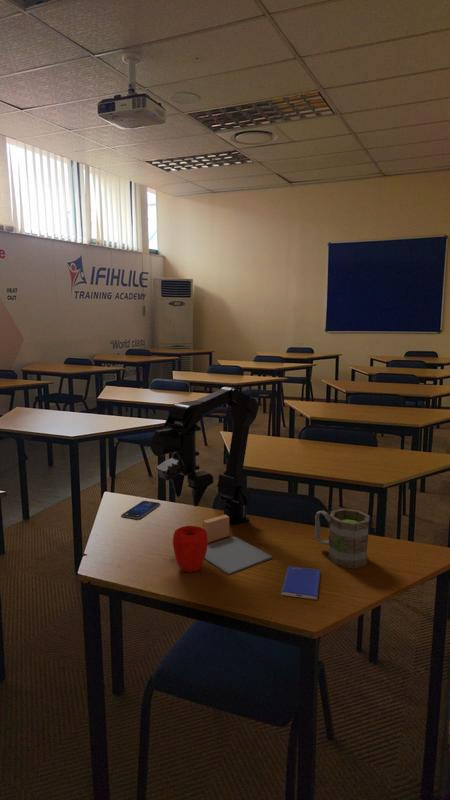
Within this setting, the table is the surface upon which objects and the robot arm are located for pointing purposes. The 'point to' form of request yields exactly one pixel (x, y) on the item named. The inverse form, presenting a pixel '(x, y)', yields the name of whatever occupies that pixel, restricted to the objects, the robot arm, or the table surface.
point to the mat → (234, 555)
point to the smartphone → (140, 510)
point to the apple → (190, 547)
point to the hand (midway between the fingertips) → (186, 501)
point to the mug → (345, 537)
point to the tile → (216, 527)
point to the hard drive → (301, 582)
